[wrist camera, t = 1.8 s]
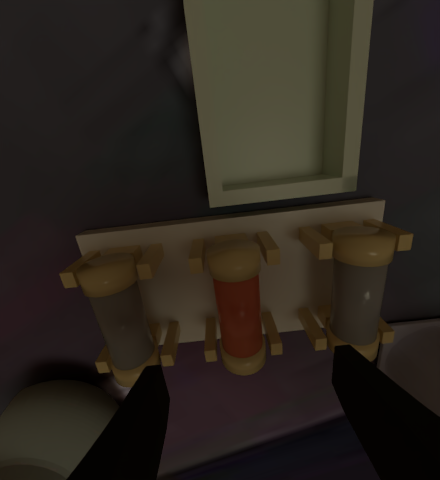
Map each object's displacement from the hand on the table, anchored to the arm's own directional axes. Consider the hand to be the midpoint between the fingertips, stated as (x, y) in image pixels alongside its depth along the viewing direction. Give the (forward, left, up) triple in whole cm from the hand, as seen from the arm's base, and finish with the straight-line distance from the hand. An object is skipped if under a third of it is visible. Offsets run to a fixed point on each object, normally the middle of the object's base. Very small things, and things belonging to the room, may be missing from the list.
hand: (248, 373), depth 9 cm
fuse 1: (0, +7, -6) cm, 9 cm away
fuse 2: (0, -7, -6) cm, 9 cm away
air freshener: (-12, +16, -9) cm, 22 cm away
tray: (+12, -3, -8) cm, 15 cm away
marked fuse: (0, 0, -6) cm, 6 cm away
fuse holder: (0, 0, -8) cm, 8 cm away
